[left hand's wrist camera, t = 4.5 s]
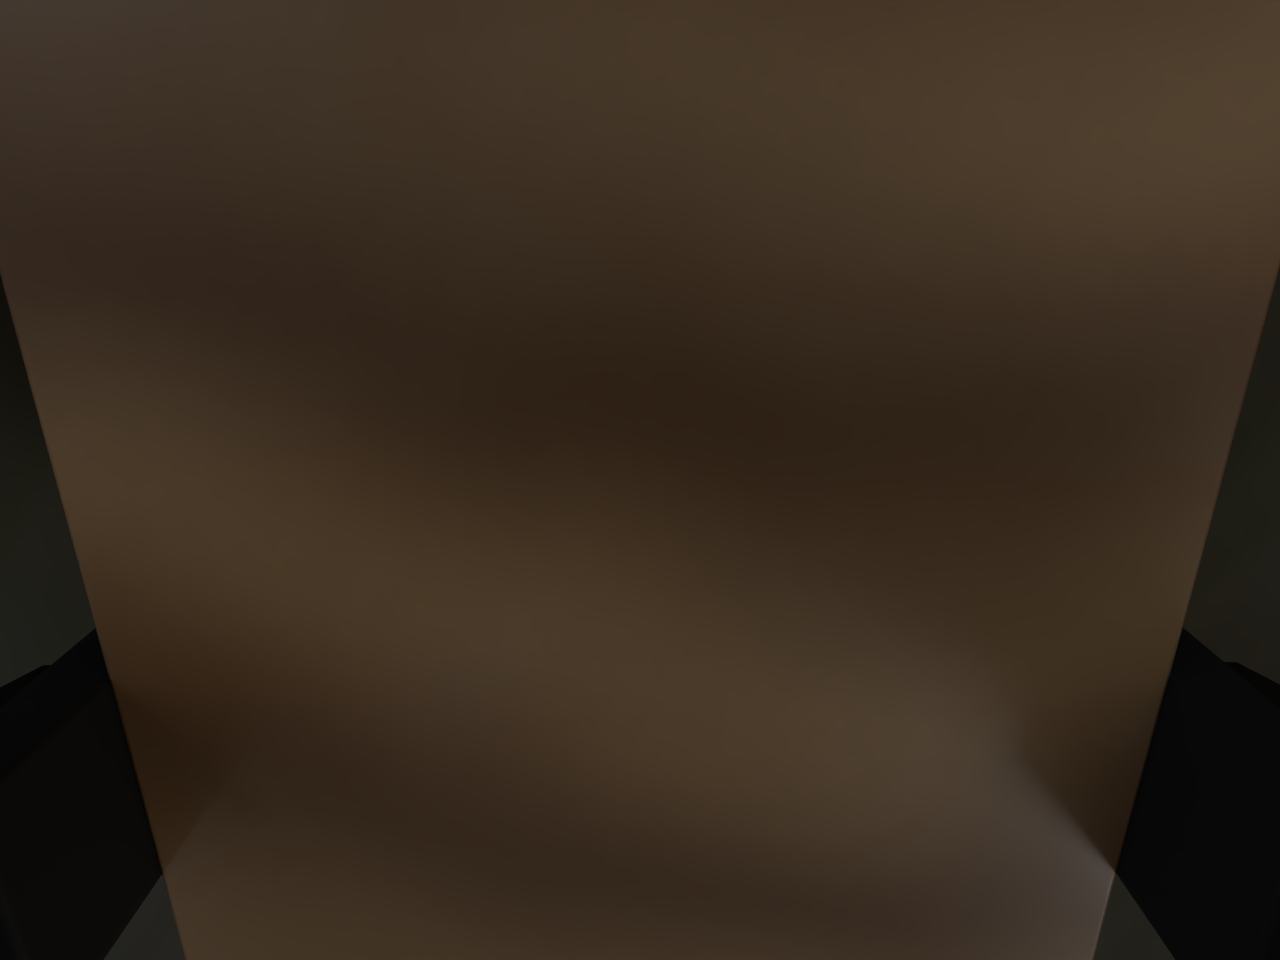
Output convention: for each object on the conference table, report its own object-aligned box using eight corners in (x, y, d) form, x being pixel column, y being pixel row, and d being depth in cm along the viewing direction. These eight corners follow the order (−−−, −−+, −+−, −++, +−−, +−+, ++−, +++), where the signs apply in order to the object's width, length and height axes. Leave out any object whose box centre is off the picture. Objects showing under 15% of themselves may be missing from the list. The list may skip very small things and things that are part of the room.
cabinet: (274, -347, 12) (-462, -1410, 4) (1002, -348, 12) (1738, -1409, 4) (396, 652, 19) (202, 1033, 10) (881, 651, 19) (1077, 1032, 10)
